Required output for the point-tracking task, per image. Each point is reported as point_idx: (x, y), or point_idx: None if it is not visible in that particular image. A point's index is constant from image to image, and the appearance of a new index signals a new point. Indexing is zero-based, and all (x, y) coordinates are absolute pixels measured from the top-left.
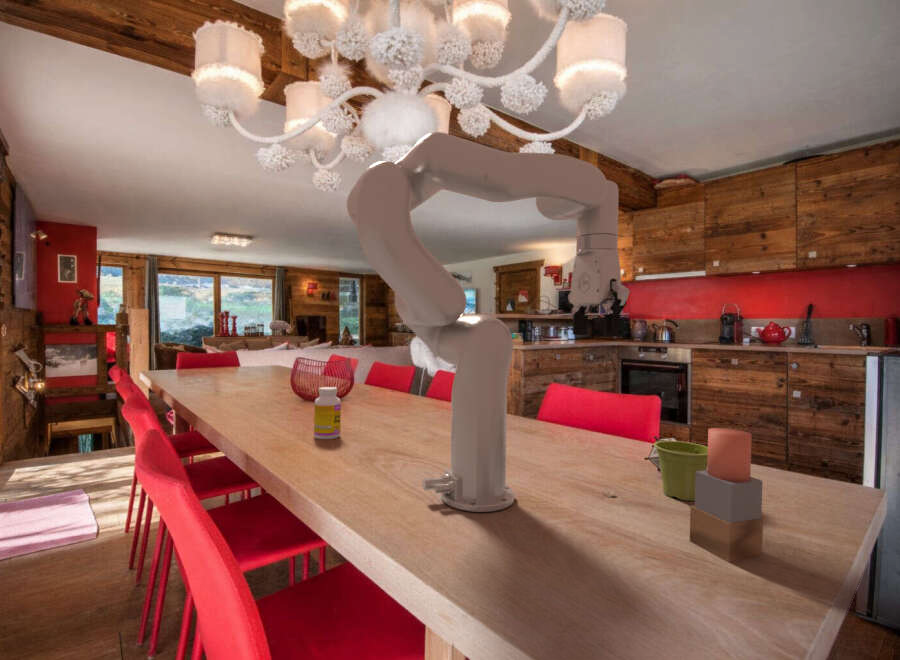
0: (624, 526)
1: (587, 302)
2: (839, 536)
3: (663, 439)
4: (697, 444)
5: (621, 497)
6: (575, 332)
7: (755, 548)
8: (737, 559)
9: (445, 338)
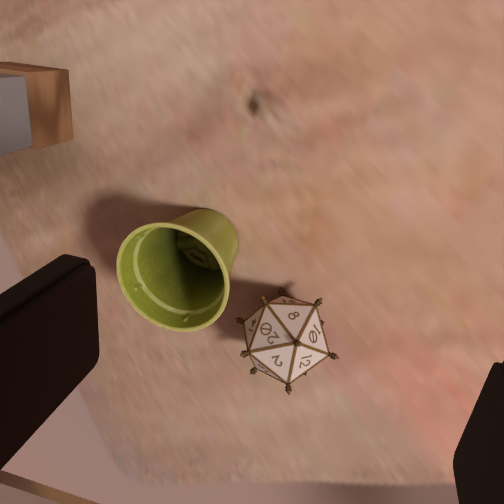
0: (136, 3)
1: (21, 493)
2: None
3: (287, 353)
4: (180, 329)
5: (243, 118)
6: (500, 369)
7: None
8: None
9: None
